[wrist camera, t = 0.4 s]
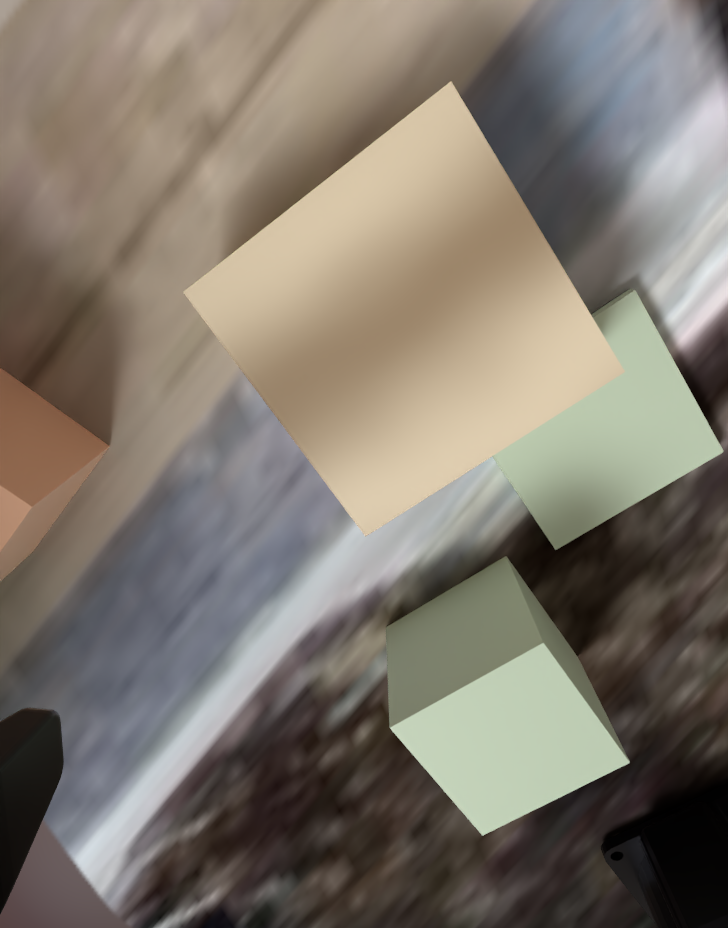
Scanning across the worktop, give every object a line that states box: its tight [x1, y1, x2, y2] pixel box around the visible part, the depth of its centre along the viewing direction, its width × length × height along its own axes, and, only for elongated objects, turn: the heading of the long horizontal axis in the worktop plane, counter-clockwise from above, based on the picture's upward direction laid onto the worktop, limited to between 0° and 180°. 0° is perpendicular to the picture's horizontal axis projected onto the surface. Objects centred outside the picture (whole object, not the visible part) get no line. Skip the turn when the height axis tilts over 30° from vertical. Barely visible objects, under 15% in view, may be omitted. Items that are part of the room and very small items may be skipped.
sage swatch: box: [492, 289, 724, 550], centre depth 20 cm, size 6×6×1 cm
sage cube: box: [386, 556, 630, 836], centre depth 20 cm, size 5×5×5 cm
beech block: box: [183, 81, 625, 536], centre depth 17 cm, size 8×8×3 cm
